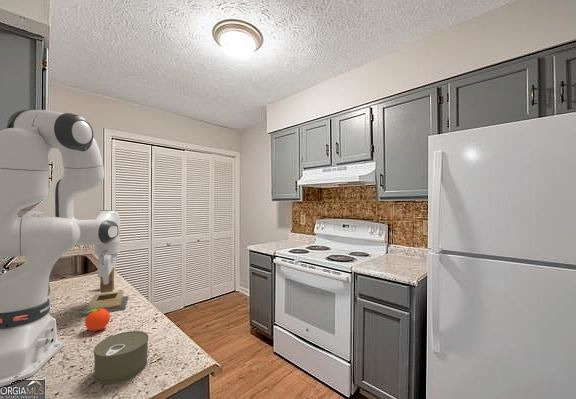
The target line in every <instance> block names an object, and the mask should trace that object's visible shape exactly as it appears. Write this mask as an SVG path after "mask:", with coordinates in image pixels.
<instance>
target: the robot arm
mask: <svg viewBox="0 0 576 399" xmlns="http://www.w3.org/2000/svg"><path fill="white" fill-rule="evenodd" d="M52 149H58V151H59V152H60V153H61V160H62V166H63V175H62V177H61V179H59V180H58V181H57V182H56V184H55V189H54V191H55V192H54V208H55V211H54V213H55V216H40V217H39V216H38V217H37V216H36V217H35V216H34V217H32V216H29V217H21V216H19V214H18V213H19V212H20V211H21V210H23V209H26V208H28V207H32V206H34V205H36V204H40V203H42V201H45V200H46V198H48V196H49V193H50V188H49V187H50V184H49V183H50V181H49V180H50V167H49V166H50V165H49V164H50V162H49V153H50V152H51V150H52ZM100 150H101V149H100V148H99V145H98V143H97V140H96V139H95V138H94V129H93V127H92V126H91V124H90V122H89V121H88V120H87V119H86V118H84V117H83V116H81V115H78V114H74V113H70V112H62V111H55V110H51V109H50V110H49V109H35V110H34V109H20V110H18V111H16V112H13V113H12V114H11V115H10V117H9V118H8V121H7V125H6V128H5V129H2V130H0V259H6V258H14V257H15V258H17V257H23V258H25V261H24V262H23V263H22V264H20V265H19V266H17V267H14V268H12V269H9V270H8V271H6V272H4V273H2V274H1V275H0V388H1V387H4V386H8V385H11V383H12V382H14V381H16V380H21V381H23V380H26V379H28V378H30V377H32V376H33V375H35V374H36V372H38V371H39V370H40V369H42V367H44V366H45V364H46V363H48V361H50V360H51V358H53V357H54V356H55V355H56V354H57V353H58V352H59V351H60V350H61V349H62V348H63V347H64V342H63V341H61V340H60V341H59V340H58V332H57V331H58V330H57V320H56V318H54V317H53V316H52V315H51V314H50V307H51V302H50V299H49V296H48V283H49V284H50V276H51V272H52V269H53V268H54V266H55V264H56V263H57V261H58V260H60V259H61V257H62V256H64V254H66V253H67V252H68V251H70V250H71V249H73V248H75V247H76V246H93V245H94V255H96V256H97V257H98V262H97V277H98V278H100V277H103V284H104V285H106V284H109V274H110V273H111V271H112V269H113V268H114V269H115V268H116V265H117V263H118V262H117V260H118V255H119V254H118V253H120V252H121V238H120V234H121V216H120V214H119V212H118V211H117V210H113V209H112V210H109V209H101V210H98V211H96V214H95V218H93V219H78V218H76V217H75V216H74V215H75V214H74V212H75V211H74V210H75V207H74V206H75V204H74V202H75V200H74V199H75V197H76V196H77V195H79V194H83V193H84V192H87V191H90V190H92V189H95V188H97V187H98V186H99V185H100V184H101V183H102V182H103V180H104V179H105V169H104V162H103V156H102V155H101V151H100ZM25 378H26V379H25ZM22 379H23V380H22ZM12 384H13V383H12Z"/></svg>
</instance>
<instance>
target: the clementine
mask: <svg viewBox="0 0 576 399" xmlns="http://www.w3.org/2000/svg"><path fill="white" fill-rule="evenodd" d="M91 311H92V312H91ZM91 311H89V312H90V313H89V314H88V316H85V319H84V326H85V328H86V329H88V330H89V331H91V332H96V331H100V330H103V329H104V328H105V327H106V326H107V325H108V324H109V323H110V320H111V314H110V312H108V311H107V310H105V309H94V310H91ZM87 313H88V312H87Z"/></svg>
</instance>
